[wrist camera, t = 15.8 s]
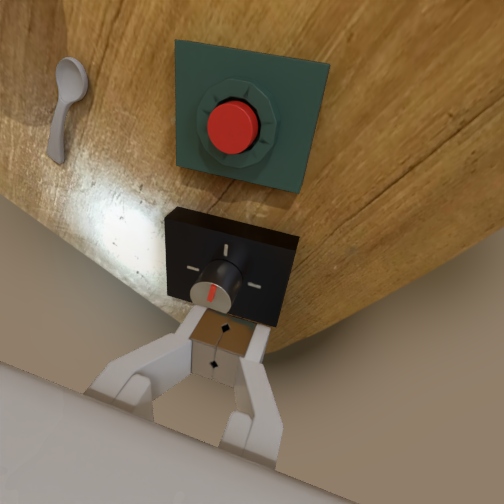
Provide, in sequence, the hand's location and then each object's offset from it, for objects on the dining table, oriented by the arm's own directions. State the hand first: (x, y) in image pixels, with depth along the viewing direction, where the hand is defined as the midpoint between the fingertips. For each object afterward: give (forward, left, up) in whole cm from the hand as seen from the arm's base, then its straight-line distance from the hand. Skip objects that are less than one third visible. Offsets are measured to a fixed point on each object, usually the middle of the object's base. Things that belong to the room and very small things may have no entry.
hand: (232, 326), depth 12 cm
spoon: (+25, 0, -21) cm, 32 cm away
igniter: (+6, -3, -21) cm, 22 cm away
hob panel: (+6, +13, -21) cm, 25 cm away
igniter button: (+6, -3, -17) cm, 18 cm away
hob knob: (+6, +13, -17) cm, 22 cm away
